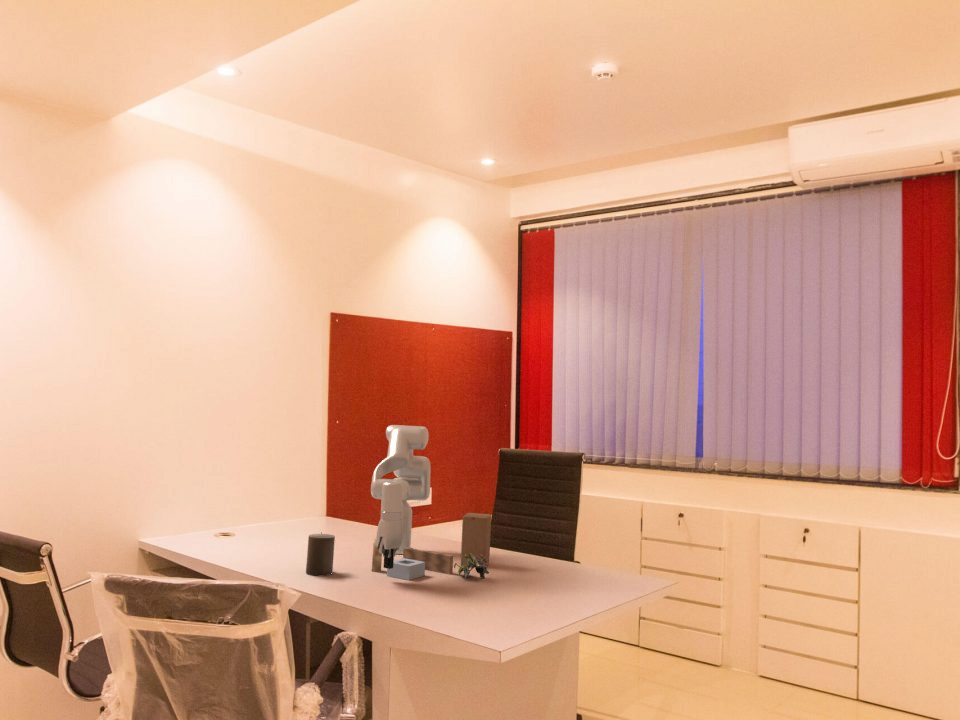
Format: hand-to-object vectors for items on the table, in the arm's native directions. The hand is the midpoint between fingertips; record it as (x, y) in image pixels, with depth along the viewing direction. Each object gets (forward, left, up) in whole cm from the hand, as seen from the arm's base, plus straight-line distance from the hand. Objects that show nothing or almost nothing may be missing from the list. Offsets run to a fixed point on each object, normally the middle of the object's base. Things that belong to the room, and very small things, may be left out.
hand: (388, 567), depth 276 cm
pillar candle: (-27, -6, -5) cm, 28 cm away
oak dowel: (-13, +10, -5) cm, 17 cm away
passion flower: (+21, +24, -5) cm, 32 cm away
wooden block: (+9, +46, -5) cm, 47 cm away
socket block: (0, +11, -5) cm, 12 cm away
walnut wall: (0, +25, -5) cm, 26 cm away
